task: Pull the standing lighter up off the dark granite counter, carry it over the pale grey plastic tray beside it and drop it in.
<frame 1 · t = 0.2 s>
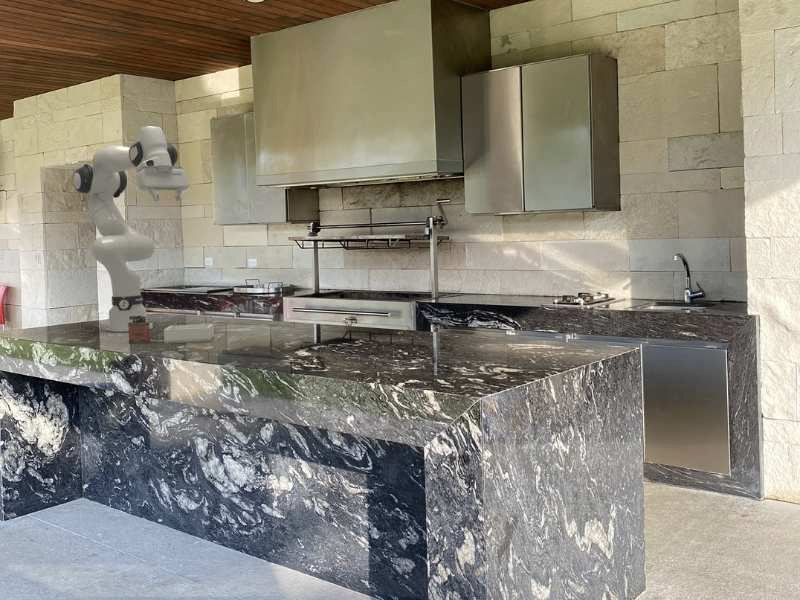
hand: (167, 200, 319), 52 cm above the countertop, tool tilted 20°, fingers open, 8 cm apart
tray: (189, 340, 313), on the countertop
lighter: (139, 343, 311), on the countertop
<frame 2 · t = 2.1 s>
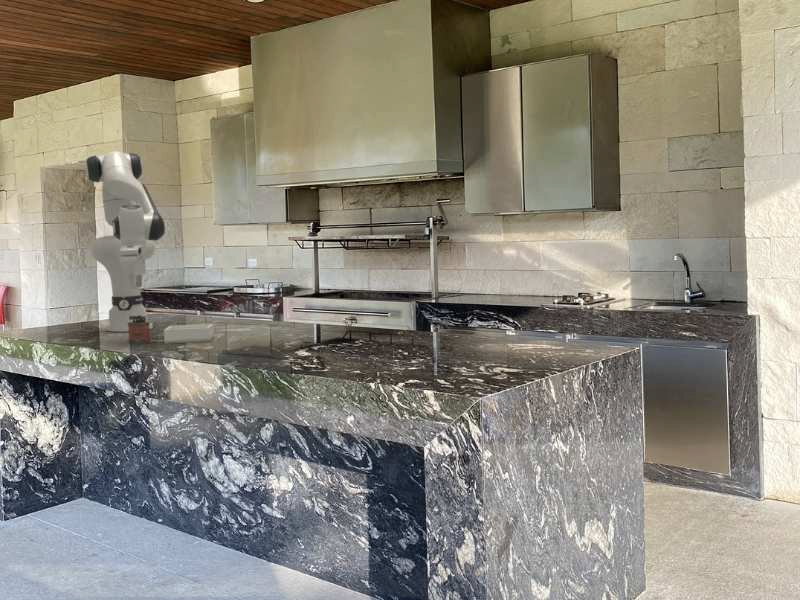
hand: (136, 287, 309), 20 cm above the countertop, tool pointing down, fingers open, 8 cm apart
nothing on the countertop moved.
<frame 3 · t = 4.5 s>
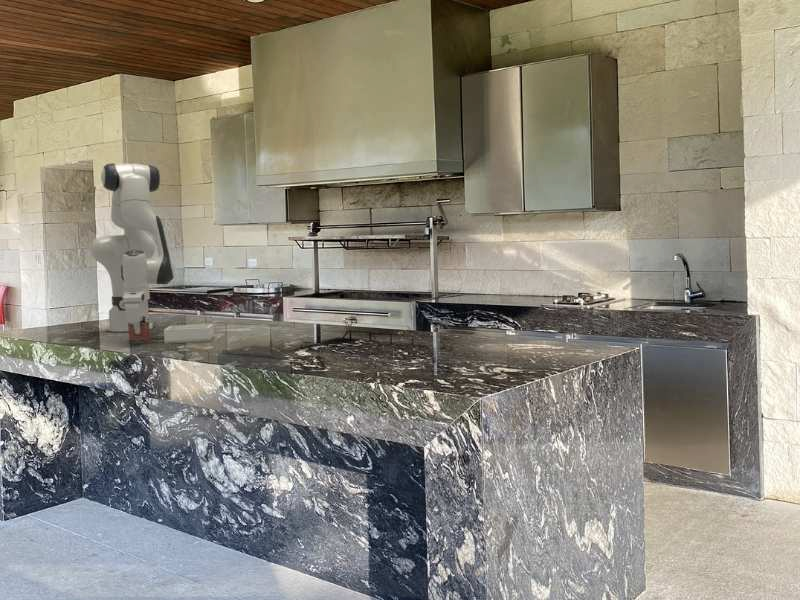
hand: (139, 332, 311), 4 cm above the countertop, tool pointing down, fingers open, 3 cm apart
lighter: (139, 343, 311), on the countertop, touching gripper
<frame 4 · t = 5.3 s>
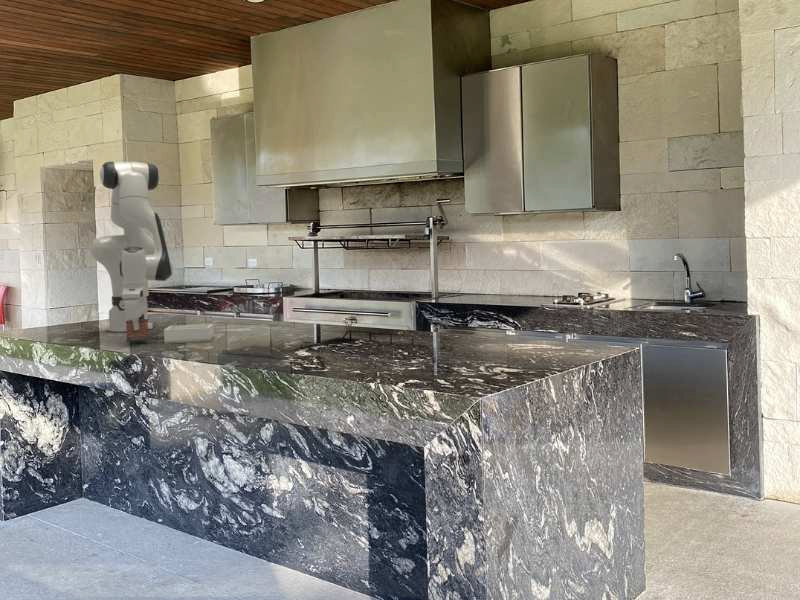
hand: (138, 329, 311), 5 cm above the countertop, tool pointing down, fingers closed on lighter, 2 cm apart
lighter: (137, 341, 309), point 1 cm above the countertop, touching gripper
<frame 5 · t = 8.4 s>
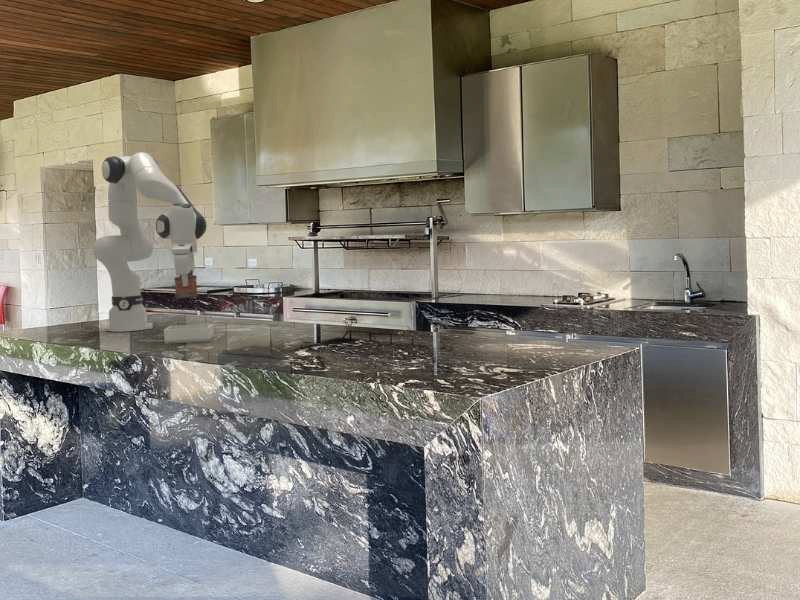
hand: (186, 286, 311), 20 cm above the countertop, tool pointing down, fingers closed on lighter, 2 cm apart
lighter: (186, 297, 309), point 16 cm above the countertop, touching gripper
when the fingers open (6 cm above the countertop, at t = 11.4 s): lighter moves 1 cm, point 2 cm above the countertop.
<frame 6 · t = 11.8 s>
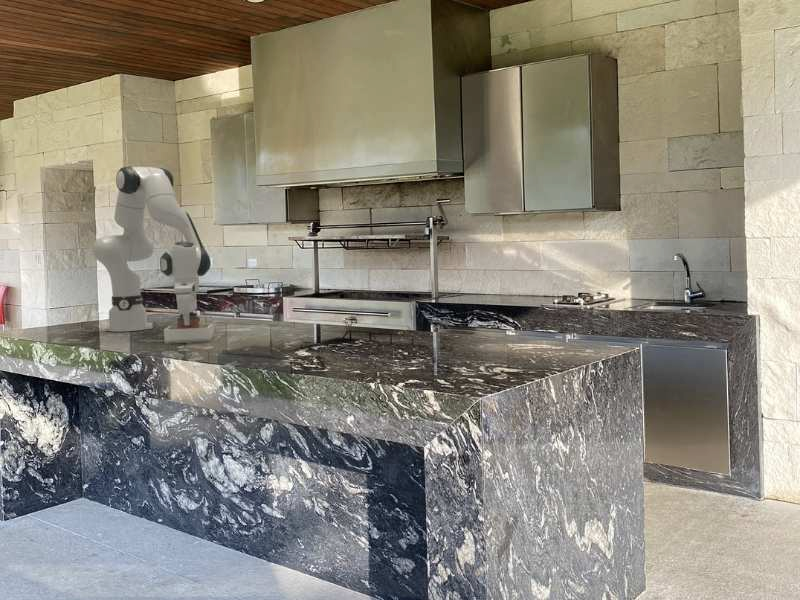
hand: (188, 323, 312), 6 cm above the countertop, tool pointing down, fingers open, 6 cm apart
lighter: (187, 336, 309), point 2 cm above the countertop, touching gripper
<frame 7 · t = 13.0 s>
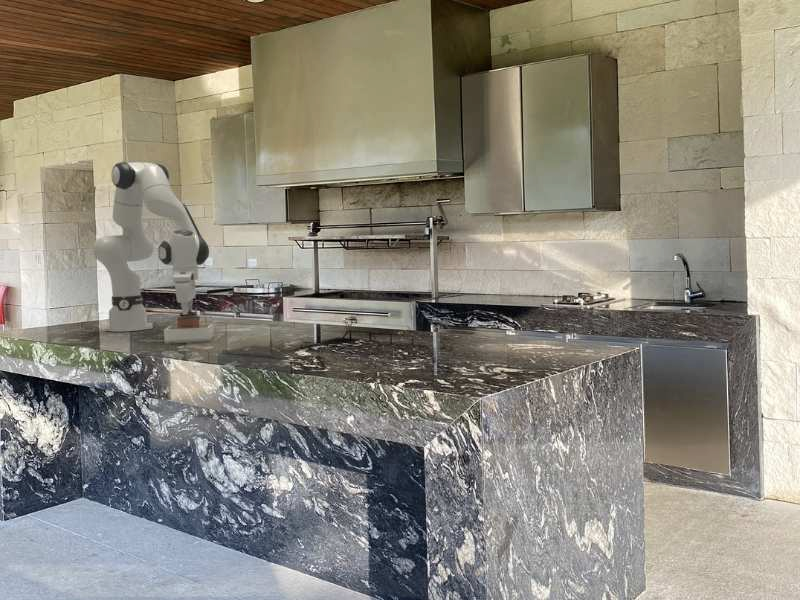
hand: (187, 312, 312), 10 cm above the countertop, tool pointing down, fingers open, 8 cm apart
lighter: (187, 336, 310), point 2 cm above the countertop, touching tray
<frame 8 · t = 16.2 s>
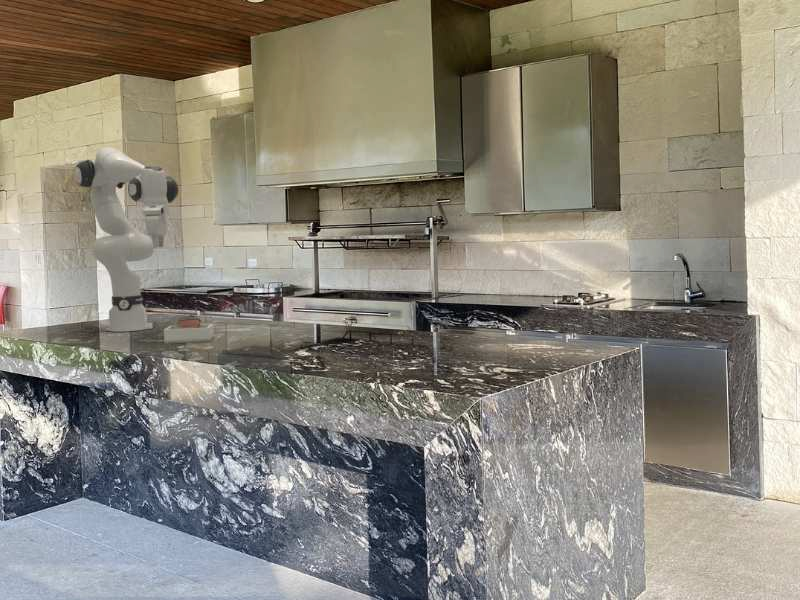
hand: (158, 247, 317), 34 cm above the countertop, tool pointing down, fingers open, 8 cm apart
at the end: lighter inside the target area on the tray (2.0 cm from its centre), point 2.3 cm above the tray's base; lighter touching tray; the gripper is holding nothing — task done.
